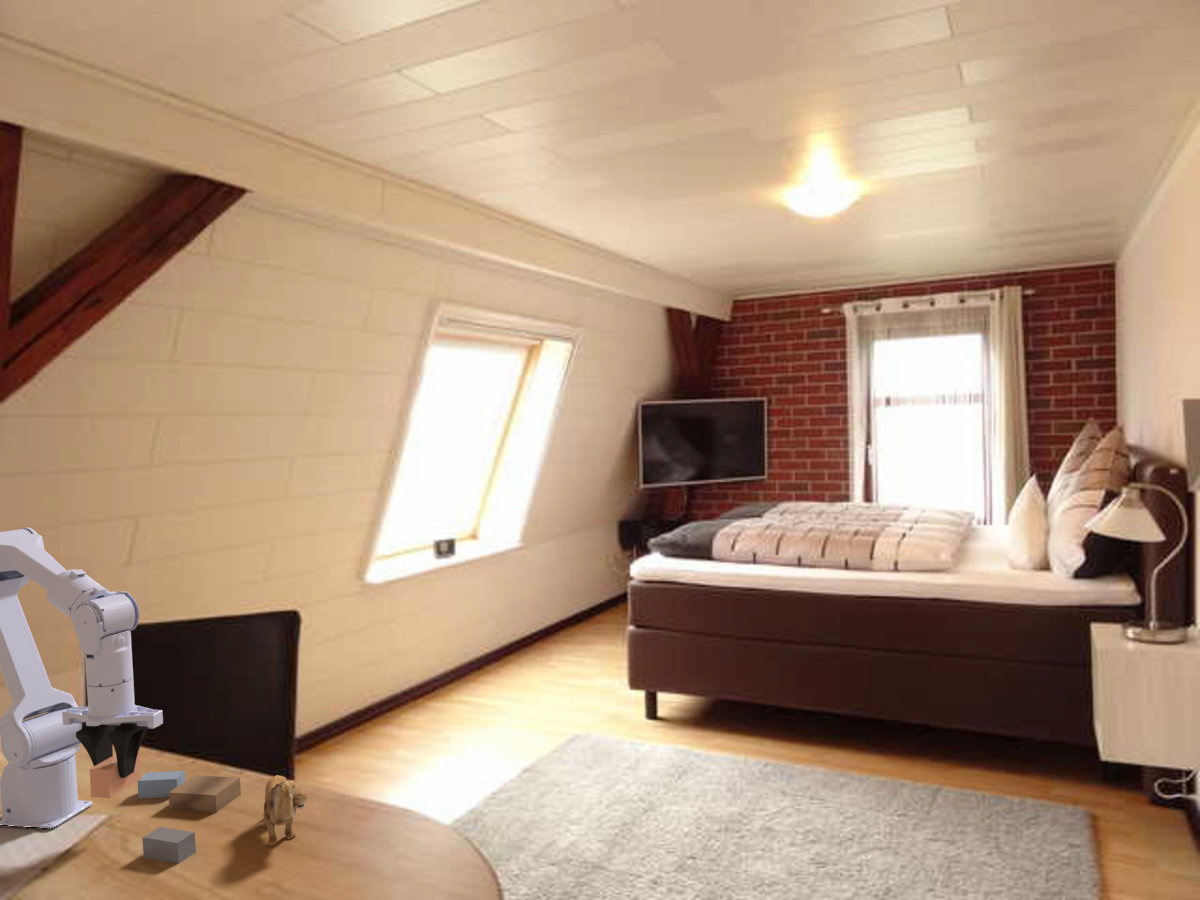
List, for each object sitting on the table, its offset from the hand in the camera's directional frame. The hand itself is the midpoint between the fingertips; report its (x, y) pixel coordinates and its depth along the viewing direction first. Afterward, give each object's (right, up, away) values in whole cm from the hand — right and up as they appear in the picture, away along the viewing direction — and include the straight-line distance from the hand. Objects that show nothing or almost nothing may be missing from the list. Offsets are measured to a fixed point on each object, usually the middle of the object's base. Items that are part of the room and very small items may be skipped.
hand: (115, 774), depth 120 cm
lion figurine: (+24, -9, 0) cm, 25 cm away
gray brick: (+10, -9, -5) cm, 15 cm away
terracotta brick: (0, -2, 0) cm, 2 cm away
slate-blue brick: (0, -8, +14) cm, 16 cm away
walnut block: (+8, -9, +10) cm, 16 cm away
